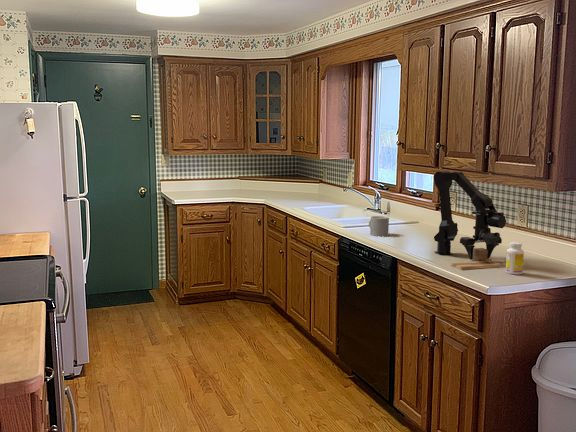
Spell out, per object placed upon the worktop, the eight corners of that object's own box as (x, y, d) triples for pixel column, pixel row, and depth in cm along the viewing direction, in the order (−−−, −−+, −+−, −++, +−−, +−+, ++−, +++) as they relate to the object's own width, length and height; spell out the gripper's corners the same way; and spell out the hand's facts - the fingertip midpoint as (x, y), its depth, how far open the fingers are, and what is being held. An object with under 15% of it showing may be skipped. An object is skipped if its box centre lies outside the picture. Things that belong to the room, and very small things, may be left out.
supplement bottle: (524, 273, 249) (527, 243, 247) (518, 275, 244) (521, 245, 242) (509, 270, 253) (511, 240, 251) (502, 273, 248) (504, 242, 246)
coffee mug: (391, 236, 328) (392, 218, 327) (375, 237, 325) (376, 218, 323) (379, 231, 340) (380, 214, 339) (364, 232, 337) (364, 215, 335)
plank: (450, 265, 260) (450, 262, 260) (488, 262, 267) (488, 260, 267) (461, 269, 253) (461, 266, 253) (500, 266, 259) (500, 264, 259)
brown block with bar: (472, 261, 269) (472, 248, 268) (481, 260, 271) (482, 247, 270) (486, 266, 260) (487, 253, 259) (495, 265, 262) (496, 252, 261)
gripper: (475, 228, 255) (473, 264, 257) (511, 227, 261) (508, 261, 263) (460, 224, 265) (458, 258, 268) (494, 223, 271) (492, 256, 274)
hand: (479, 259), depth 268 cm, fingers open, 9 cm apart
